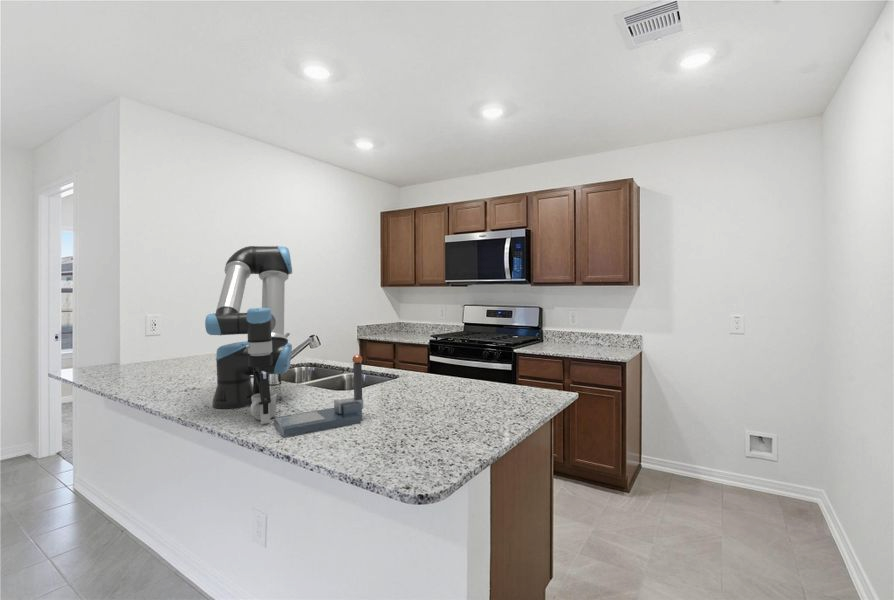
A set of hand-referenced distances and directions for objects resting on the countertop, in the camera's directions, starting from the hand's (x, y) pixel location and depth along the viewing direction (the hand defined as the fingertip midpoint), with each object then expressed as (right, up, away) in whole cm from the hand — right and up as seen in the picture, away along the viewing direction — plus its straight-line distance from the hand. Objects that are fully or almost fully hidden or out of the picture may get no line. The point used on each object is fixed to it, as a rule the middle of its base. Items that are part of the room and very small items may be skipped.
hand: (262, 418), depth 148 cm
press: (+21, 0, -5) cm, 22 cm away
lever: (+30, +3, 0) cm, 30 cm away
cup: (0, 0, 0) cm, 0 cm away
